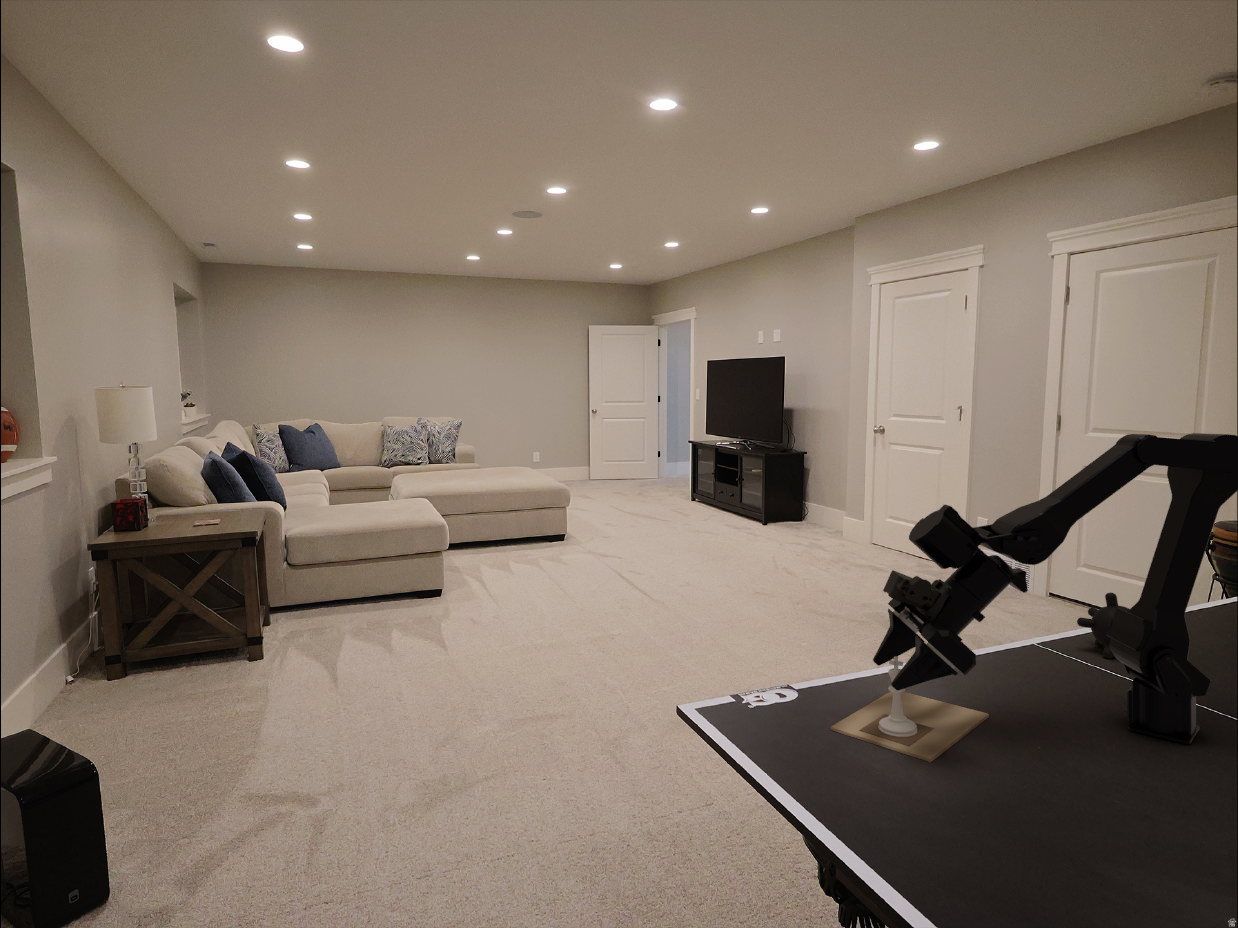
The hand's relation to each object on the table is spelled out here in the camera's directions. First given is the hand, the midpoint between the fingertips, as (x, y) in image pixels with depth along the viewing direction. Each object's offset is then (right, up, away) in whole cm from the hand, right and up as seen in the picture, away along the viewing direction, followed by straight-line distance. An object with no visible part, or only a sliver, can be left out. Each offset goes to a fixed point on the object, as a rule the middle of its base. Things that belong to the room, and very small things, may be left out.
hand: (884, 674), depth 97 cm
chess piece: (+2, -8, 0) cm, 8 cm away
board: (+5, -8, +3) cm, 9 cm away
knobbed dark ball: (+50, -4, +26) cm, 56 cm away
